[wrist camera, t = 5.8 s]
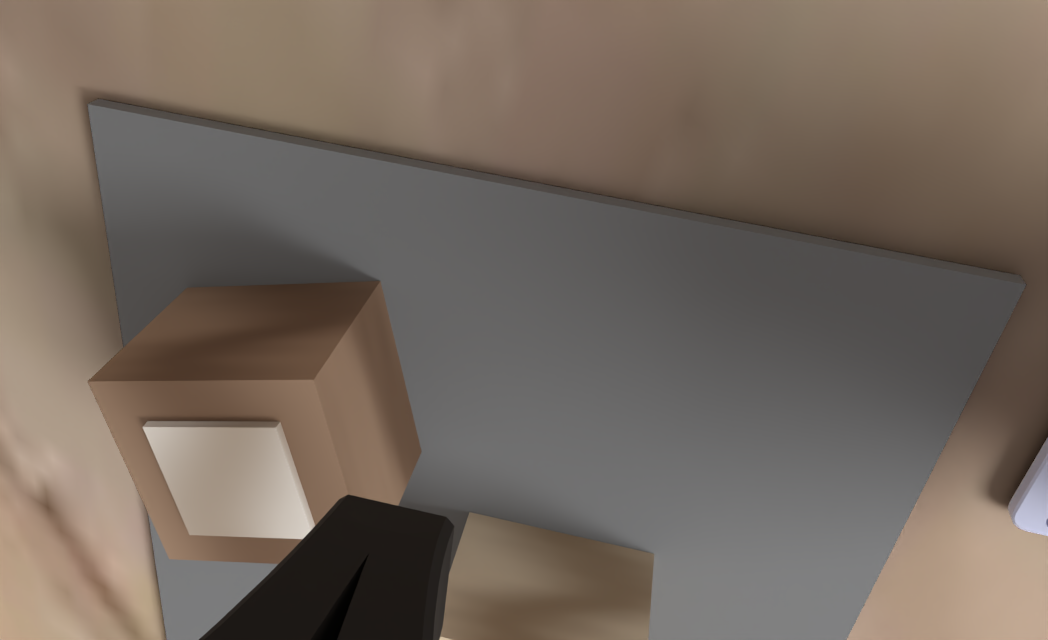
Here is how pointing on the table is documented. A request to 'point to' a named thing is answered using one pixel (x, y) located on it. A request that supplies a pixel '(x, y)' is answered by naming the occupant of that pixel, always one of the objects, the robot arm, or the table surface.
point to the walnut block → (260, 414)
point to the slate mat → (585, 360)
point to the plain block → (544, 586)
